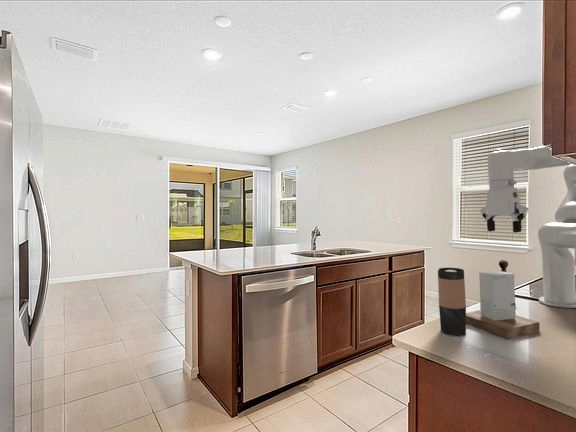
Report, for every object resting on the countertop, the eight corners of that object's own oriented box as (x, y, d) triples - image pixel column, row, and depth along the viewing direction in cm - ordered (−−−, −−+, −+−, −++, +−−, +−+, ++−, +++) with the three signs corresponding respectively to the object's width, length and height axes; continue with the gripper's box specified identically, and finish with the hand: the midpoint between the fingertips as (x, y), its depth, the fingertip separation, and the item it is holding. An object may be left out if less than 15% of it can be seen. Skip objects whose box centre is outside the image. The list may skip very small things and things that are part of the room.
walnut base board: (491, 316, 113) (491, 308, 113) (539, 331, 98) (539, 322, 98) (461, 322, 108) (461, 313, 108) (507, 339, 93) (506, 329, 93)
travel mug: (472, 334, 98) (470, 270, 98) (451, 338, 96) (448, 272, 96) (454, 326, 105) (452, 266, 105) (434, 329, 104) (432, 268, 103)
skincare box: (493, 321, 100) (491, 274, 100) (479, 315, 106) (477, 271, 106) (517, 319, 101) (515, 273, 101) (502, 313, 107) (500, 269, 107)
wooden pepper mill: (509, 303, 126) (507, 258, 126) (519, 308, 120) (517, 261, 120) (491, 303, 127) (489, 259, 127) (501, 308, 121) (499, 261, 120)
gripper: (533, 182, 109) (536, 231, 109) (486, 187, 125) (489, 229, 126) (518, 183, 107) (521, 233, 107) (472, 187, 123) (475, 231, 123)
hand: (503, 231), depth 116 cm, fingers open, 9 cm apart
